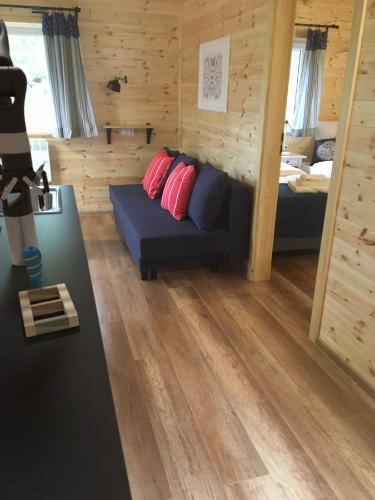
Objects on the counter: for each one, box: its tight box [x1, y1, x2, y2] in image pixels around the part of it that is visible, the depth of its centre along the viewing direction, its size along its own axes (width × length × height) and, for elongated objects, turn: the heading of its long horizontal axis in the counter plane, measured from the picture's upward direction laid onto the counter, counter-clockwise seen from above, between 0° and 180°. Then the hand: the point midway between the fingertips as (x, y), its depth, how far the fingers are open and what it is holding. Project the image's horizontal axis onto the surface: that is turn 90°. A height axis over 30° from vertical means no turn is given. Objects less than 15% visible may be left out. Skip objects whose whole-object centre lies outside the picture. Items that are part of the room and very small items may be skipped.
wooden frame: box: [18, 283, 80, 338], centre depth 112 cm, size 20×12×3 cm, turn 24°
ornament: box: [22, 243, 43, 289], centre depth 122 cm, size 5×5×15 cm
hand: (24, 210), depth 116 cm, fingers open, 8 cm apart
